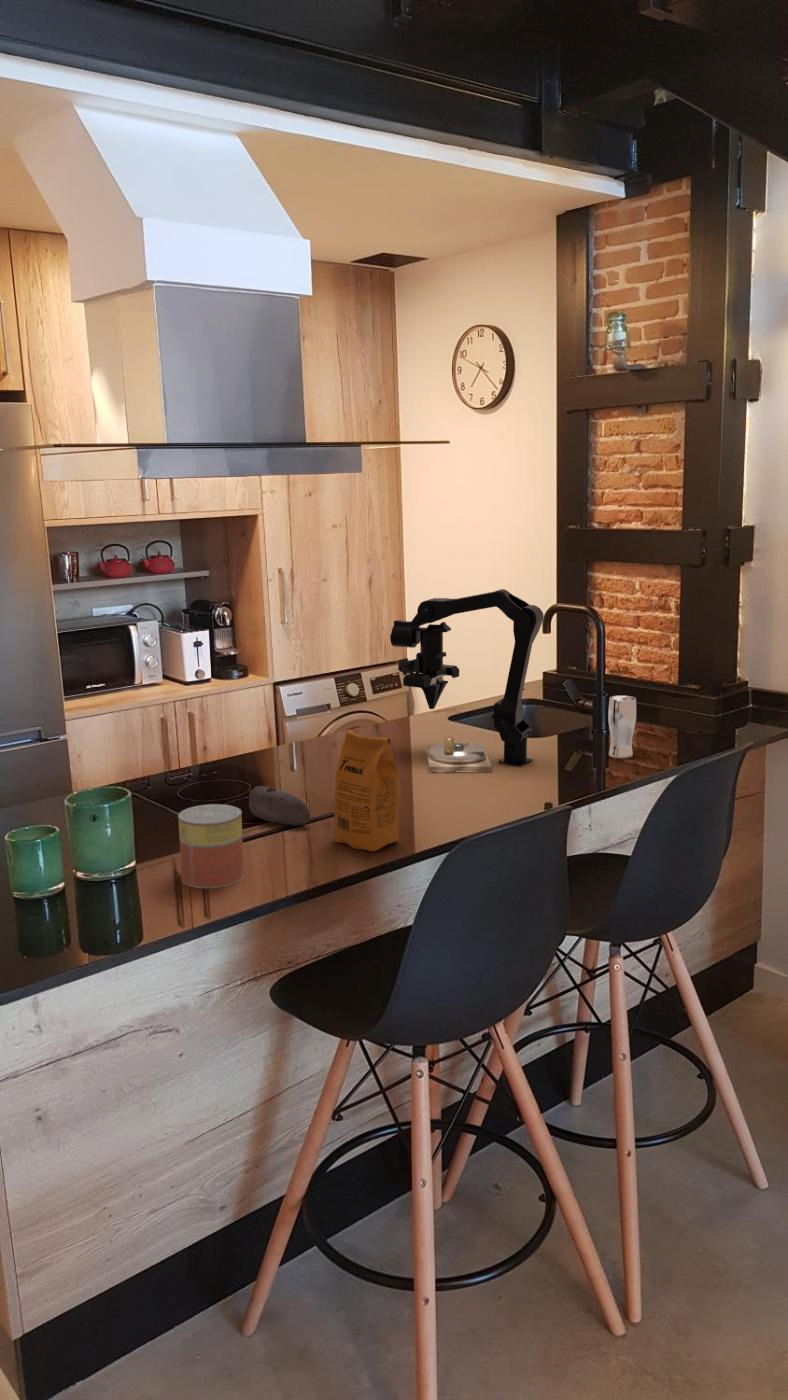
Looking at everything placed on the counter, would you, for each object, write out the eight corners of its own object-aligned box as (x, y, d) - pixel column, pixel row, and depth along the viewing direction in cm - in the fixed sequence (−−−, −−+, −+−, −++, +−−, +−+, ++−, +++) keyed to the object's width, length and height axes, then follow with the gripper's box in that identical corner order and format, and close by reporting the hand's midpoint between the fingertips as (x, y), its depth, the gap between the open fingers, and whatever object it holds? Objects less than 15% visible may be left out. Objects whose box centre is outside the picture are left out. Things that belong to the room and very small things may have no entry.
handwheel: (443, 746, 279) (443, 724, 278) (494, 752, 273) (494, 730, 272) (420, 759, 267) (420, 736, 266) (473, 765, 261) (473, 742, 260)
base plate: (484, 753, 279) (484, 747, 279) (491, 772, 262) (491, 766, 261) (426, 754, 279) (426, 748, 279) (429, 773, 262) (429, 767, 261)
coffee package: (361, 829, 221) (360, 724, 216) (406, 843, 212) (405, 734, 208) (326, 841, 214) (323, 733, 209) (370, 856, 205) (369, 743, 201)
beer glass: (605, 757, 274) (607, 700, 271) (608, 751, 280) (610, 694, 277) (633, 759, 272) (635, 701, 269) (635, 752, 278) (637, 696, 275)
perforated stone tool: (317, 826, 223) (316, 793, 222) (301, 832, 219) (300, 800, 218) (264, 813, 232) (263, 782, 230) (247, 819, 228) (245, 788, 226)
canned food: (247, 865, 201) (244, 803, 199) (240, 887, 190) (238, 822, 187) (186, 866, 201) (183, 804, 198) (176, 889, 190) (172, 824, 187)
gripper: (423, 641, 285) (423, 699, 289) (384, 651, 270) (385, 712, 273) (460, 644, 279) (460, 703, 283) (422, 654, 264) (423, 717, 267)
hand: (431, 708), depth 277 cm, fingers closed
